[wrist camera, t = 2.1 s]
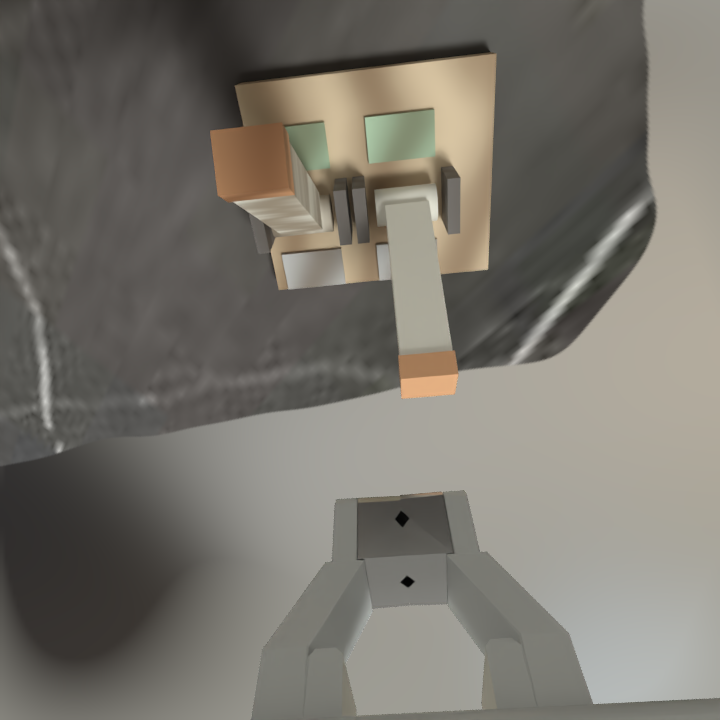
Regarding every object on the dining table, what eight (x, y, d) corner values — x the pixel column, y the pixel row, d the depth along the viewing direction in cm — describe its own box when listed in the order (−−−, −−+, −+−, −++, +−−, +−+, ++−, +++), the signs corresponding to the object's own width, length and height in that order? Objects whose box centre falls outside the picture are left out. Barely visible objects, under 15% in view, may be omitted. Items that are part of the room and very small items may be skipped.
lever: (376, 209, 35) (392, 399, 29) (373, 180, 33) (391, 379, 26) (432, 203, 35) (463, 393, 28) (434, 173, 33) (468, 373, 26)
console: (279, 281, 40) (241, 405, 27) (236, 83, 32) (155, 125, 19) (483, 260, 39) (544, 379, 26) (490, 52, 31) (582, 74, 19)
